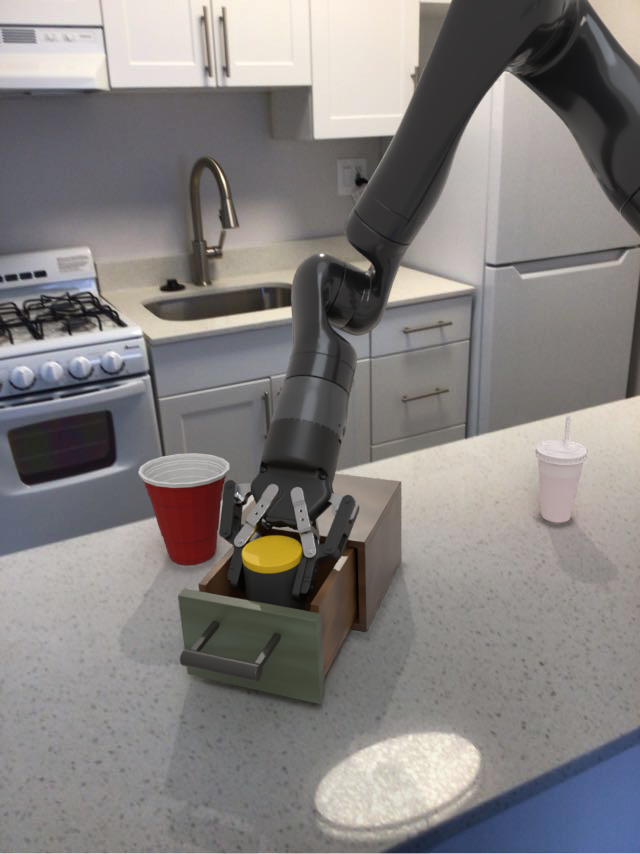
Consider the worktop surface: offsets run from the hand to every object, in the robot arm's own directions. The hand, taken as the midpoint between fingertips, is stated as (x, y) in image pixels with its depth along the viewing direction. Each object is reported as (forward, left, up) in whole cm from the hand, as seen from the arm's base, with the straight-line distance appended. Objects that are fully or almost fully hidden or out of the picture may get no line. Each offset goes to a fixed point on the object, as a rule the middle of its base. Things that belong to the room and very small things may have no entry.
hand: (267, 594), depth 71 cm
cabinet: (0, -15, -8) cm, 17 cm away
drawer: (0, +1, -7) cm, 7 cm away
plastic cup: (+18, -17, -8) cm, 26 cm away
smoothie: (-24, -39, -8) cm, 47 cm away
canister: (0, -2, -4) cm, 5 cm away
